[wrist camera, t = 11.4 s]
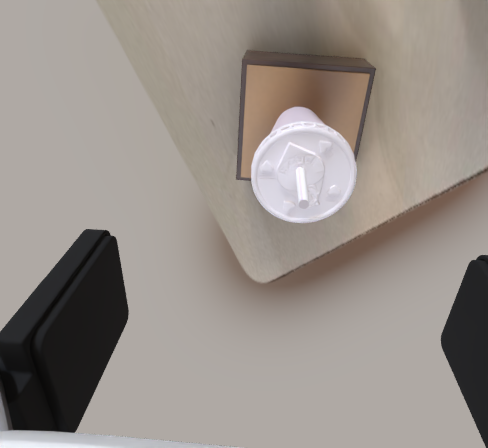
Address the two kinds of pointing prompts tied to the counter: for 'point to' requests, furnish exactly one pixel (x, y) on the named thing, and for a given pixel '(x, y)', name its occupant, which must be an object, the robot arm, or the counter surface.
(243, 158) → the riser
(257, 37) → the counter surface
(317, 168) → the smoothie
